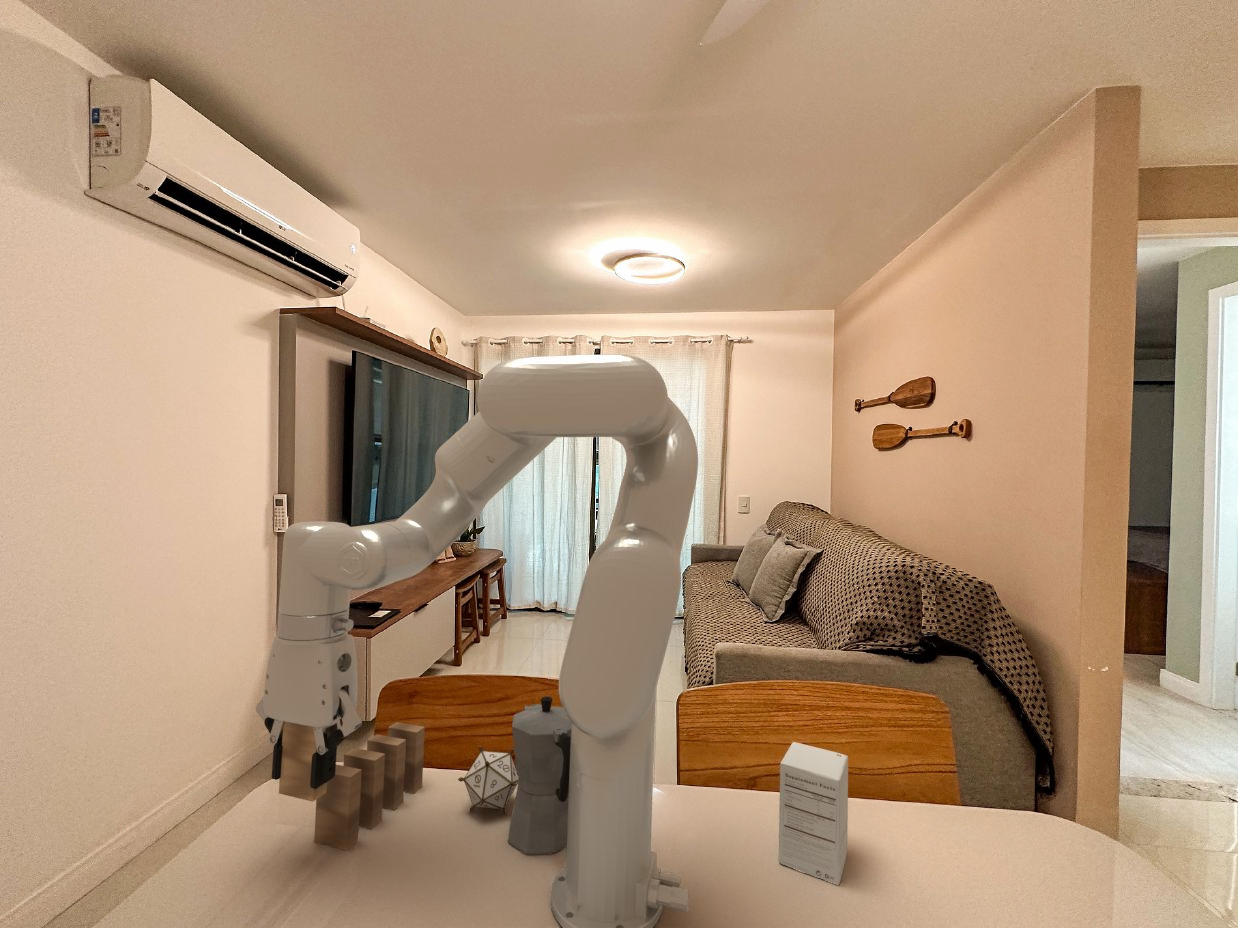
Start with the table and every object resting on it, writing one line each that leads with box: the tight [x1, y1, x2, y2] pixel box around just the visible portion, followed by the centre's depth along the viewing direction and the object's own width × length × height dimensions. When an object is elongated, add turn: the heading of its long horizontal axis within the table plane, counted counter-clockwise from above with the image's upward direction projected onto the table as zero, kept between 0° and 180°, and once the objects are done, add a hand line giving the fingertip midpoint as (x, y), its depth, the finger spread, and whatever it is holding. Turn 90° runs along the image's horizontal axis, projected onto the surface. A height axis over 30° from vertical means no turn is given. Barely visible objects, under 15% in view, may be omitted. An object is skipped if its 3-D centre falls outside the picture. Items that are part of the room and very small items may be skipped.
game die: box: [457, 744, 519, 816], centre depth 80 cm, size 9×8×10 cm
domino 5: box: [387, 721, 426, 795], centre depth 84 cm, size 5×2×9 cm, turn 74°
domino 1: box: [278, 722, 330, 802], centre depth 66 cm, size 5×2×9 cm, turn 74°
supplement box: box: [778, 741, 849, 886], centre depth 71 cm, size 7×7×13 cm
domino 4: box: [366, 734, 406, 811], centre depth 80 cm, size 5×2×9 cm, turn 74°
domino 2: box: [313, 764, 362, 851], centre depth 71 cm, size 5×2×9 cm, turn 75°
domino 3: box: [342, 747, 385, 830], centre depth 75 cm, size 5×2×9 cm, turn 74°
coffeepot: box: [507, 696, 572, 856], centre depth 73 cm, size 15×9×18 cm, turn 29°
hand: (303, 776), depth 66 cm, fingers closed on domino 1, 4 cm apart
